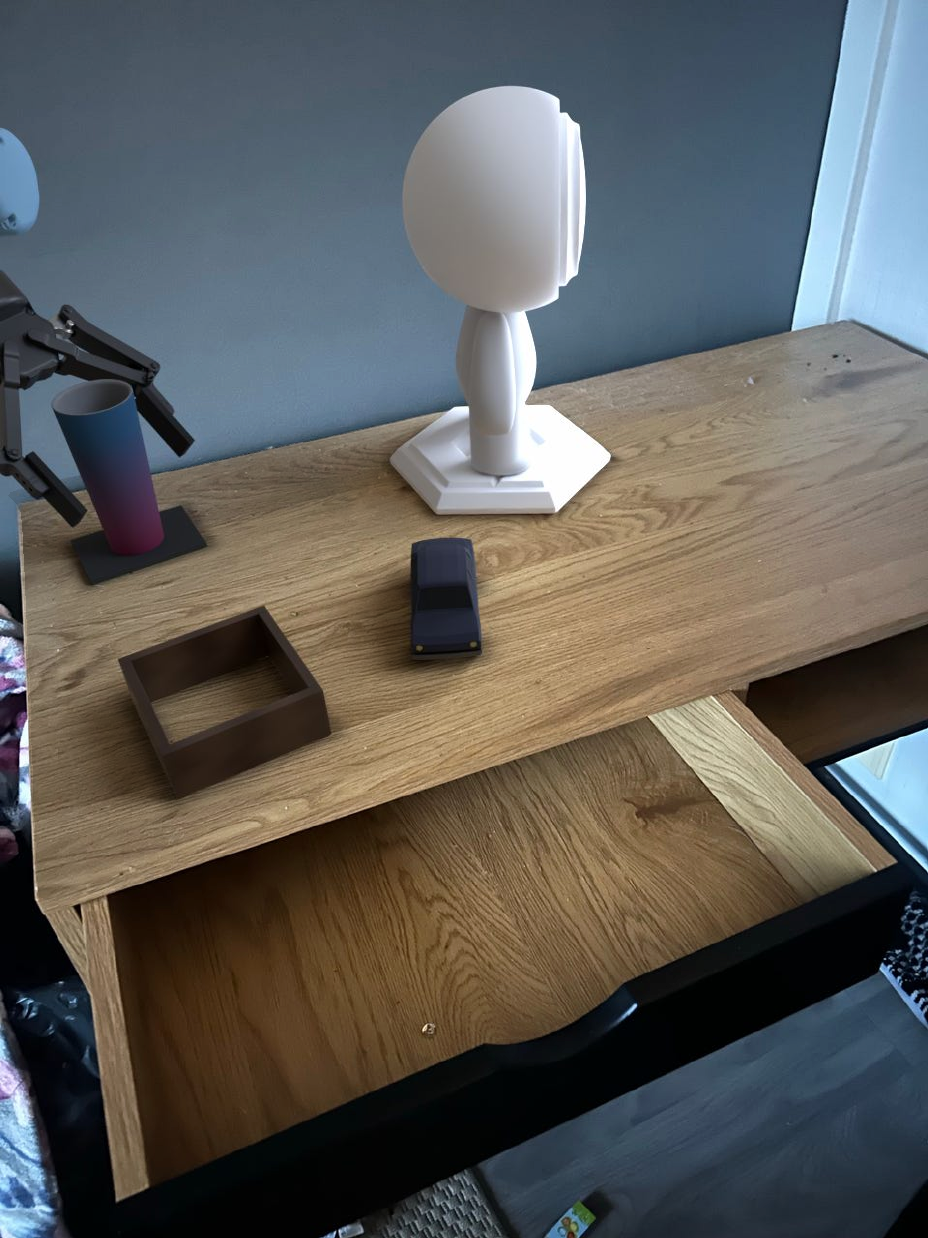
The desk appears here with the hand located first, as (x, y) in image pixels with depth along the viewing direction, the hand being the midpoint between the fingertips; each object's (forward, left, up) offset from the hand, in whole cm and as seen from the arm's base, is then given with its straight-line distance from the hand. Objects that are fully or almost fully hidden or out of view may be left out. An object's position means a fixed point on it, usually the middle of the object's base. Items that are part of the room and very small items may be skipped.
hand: (136, 482), depth 88 cm
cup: (-1, +2, -7) cm, 8 cm away
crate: (-2, -25, -8) cm, 27 cm away
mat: (-1, +2, -8) cm, 8 cm away
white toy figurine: (+35, -4, -8) cm, 36 cm away
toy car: (+18, -23, -8) cm, 31 cm away
